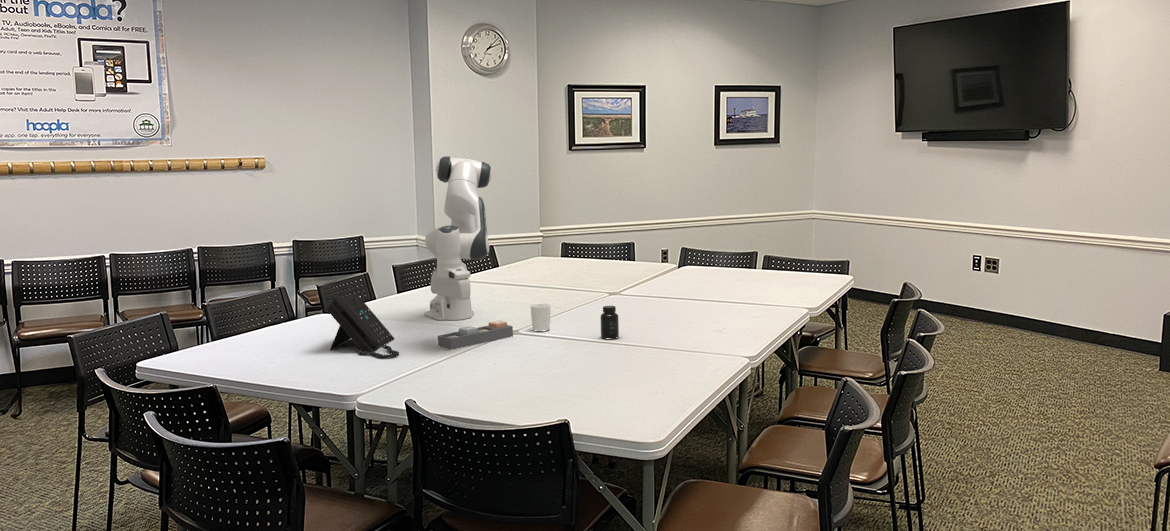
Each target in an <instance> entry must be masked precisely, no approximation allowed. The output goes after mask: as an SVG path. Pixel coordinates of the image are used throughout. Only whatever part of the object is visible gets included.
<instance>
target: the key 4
mask: <svg viewBox="0 0 1170 531" xmlns="http://www.w3.org/2000/svg"><path fill="white" fill-rule="evenodd" d="M488 325H489V327H492V328H496V329H498V328H503V327H507V325H508V322H507V321H503V320H495V321H490V322H489V321H488Z"/></svg>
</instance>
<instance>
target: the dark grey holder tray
mask: <svg viewBox="0 0 1170 531" xmlns="http://www.w3.org/2000/svg"><path fill="white" fill-rule="evenodd" d="M477 328H478V333H474V334H469V335H465V334H461V333H459V330H458V331H455V332H454V331H453V332H449V333H445V334H440V335H437V346H440V347H439V348H442V347H443V348H442V349H446V348H447V349H446V350H449V349H450V350H449V351H452V350H451V349H453V350H457V348H458V349H461V347H462V348H465V347H466V346H467V347H471V346H475V344H476V345H480V344H484V343H488V342H493V341H498V340H503V339H506V338H507V339H508V338H511V336H512V337H513V336H514V332H513V331H514V330H513V329H514V328H513V325H510V324H507V327H503V328H498V329H496V328H492V327H489V324H488V325H484V326H479V327H477ZM484 329H485V330H488V331H483V332H481V331H479V330H484ZM450 336H459V337H455V338H448V337H450Z"/></svg>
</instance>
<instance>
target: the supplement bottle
mask: <svg viewBox="0 0 1170 531" xmlns="http://www.w3.org/2000/svg"><path fill="white" fill-rule="evenodd" d="M616 311H617V310H616V306H615V305H604V306H602V313H601V314H600V337H603V338H616V337H618V338H619V336H620V335H619V334H620V330H619V326H620V325H619V324H620V323H619V321H620V320H619V314H618V313H617V312H616ZM603 338H602V339H603ZM616 339H617V338H616Z"/></svg>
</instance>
